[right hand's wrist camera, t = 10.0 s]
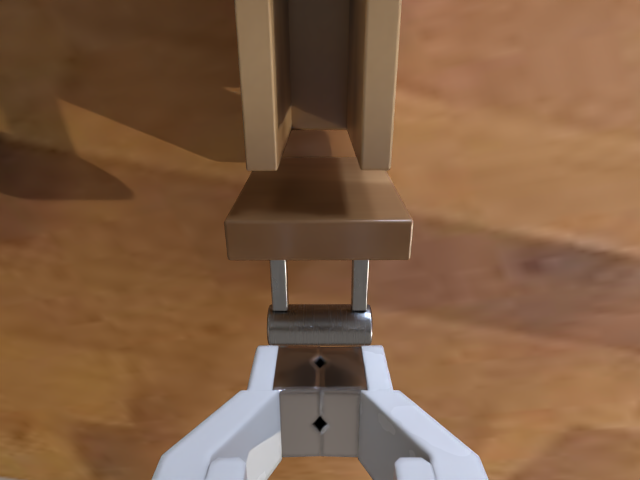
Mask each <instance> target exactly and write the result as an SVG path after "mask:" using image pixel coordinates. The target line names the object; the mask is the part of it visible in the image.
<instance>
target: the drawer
mask: <svg viewBox="0 0 640 480" xmlns="http://www.w3.org/2000/svg"><path fill="white" fill-rule="evenodd" d="M234 4H235V18H236V32H237V46H238V60H239V73H240V87H241V101H242V115H243V129H244V142H245V156H246V169H247V170H248V171H252V173H251V174H250V176H249V178H248V180H247V182H246V183H245V185H244V187H243V189H242V191H241V192H240V194H239V196H238V198H237V200H236V201H235V203H234V205H233V207H232V209H231V210H230V212H229V214H228V216H227V218H226V219H225V222H224V227H225V237H226V247H227V257H228V259H229V260H270V273H271V292H272V305H270V306H269V309H268V315H267V339H268V344H269V345H270V346H275V345H278V346H369V345H371V342H372V312H371V307H370V305H368V304H367V296H368V275H369V260H409V259H410V257H411V247H412V236H413V225H414V222H413V219H412V217H411V216H410V214H409V212H408V210H407V208H406V206H405V204H404V203H403V201H402V199H401V197H400V195H399V193H398V192H397V190H396V188H395V186H394V184H393V182H392V180H391V179H390V177H389V175H388V173H387V171H386V170H390V168H391V159H392V143H393V128H394V112H395V97H396V81H397V66H398V50H399V35H400V19H401V4H402V0H234ZM291 130H348V133H349V136H350V139H351V142H352V145H353V148H354V151H355V154H356V157H282V155H283V152H284V149H285V147H286V144H287V141H288V138H289V135H290V133H291ZM287 260H352V281H351V304H289V301H288V274H287Z"/></svg>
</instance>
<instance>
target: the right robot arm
mask: <svg viewBox="0 0 640 480" xmlns="http://www.w3.org/2000/svg"><path fill="white" fill-rule="evenodd" d="M305 456H334V457H358V460H359V461H360V462H361V464H362V465H363V466H364V468H365V469H366V471H367V472H368V473H369V475H370V476H371V477H372V479H373V480H489V479H488V477H487V475H486V472H485V470H484V467H483V465H482V462H481V460H480V457H479V456H478V455H477V454H476V453H475V452H473V451H472V450H471V449H470V448H468V447H467V446H466V445H465V444H464V443H462V442H461V441H460V440H459V439H458V438H456V437H455V436H454V435H453V434H452V433H450V432H449V431H448V430H447V429H445V428H444V427H443V426H442V425H441V424H439V423H438V422H437V421H436V420H435V419H433V418H432V417H431V416H430V415H428V414H427V413H426V412H425V411H424V410H422V409H421V408H420V407H419V406H418V405H416V404H415V403H414V402H413V401H412V400H410V399H409V398H408V397H407V396H405V395H404V394H403V393H402V392H401V391H399V390H393V387H392V383H391V379H390V374H389V370H388V366H387V361H386V357H385V353H384V349H383V347H382V346H381V345H372V346H351V347H320V346H278V345H275V346H258V347H257V349H256V352H255V357H254V361H253V365H252V370H251V374H250V379H249V383H248V387H247V390H241V391H239V392H238V393H237V394H236V395H235V396H233V397H232V398H231V399H230V400H228V401H227V402H226V403H225V404H224V405H222V406H221V407H220V408H219V409H217V410H216V411H215V412H214V413H213V414H211V415H210V416H209V417H208V418H207V419H205V420H204V421H203V422H202V423H200V424H199V425H198V426H197V427H196V428H194V429H193V430H192V431H191V432H190V433H188V434H187V435H186V436H185V437H183V438H182V439H181V440H180V441H179V442H177V443H176V444H175V445H174V446H172V447H171V448H170V449H169V450H168V451H166V452H165V453H164V454H163V455H162V456H161V458H160V460H159V463H158V465H157V468H156V470H155V472H154V475H153V477H152V480H267V479H268V478H269V477H270V475H271V474H272V472H273V471H274V470H275V468H276V467H277V466H278V464H279V463H280V461H281V460H282V457H305Z"/></svg>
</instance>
